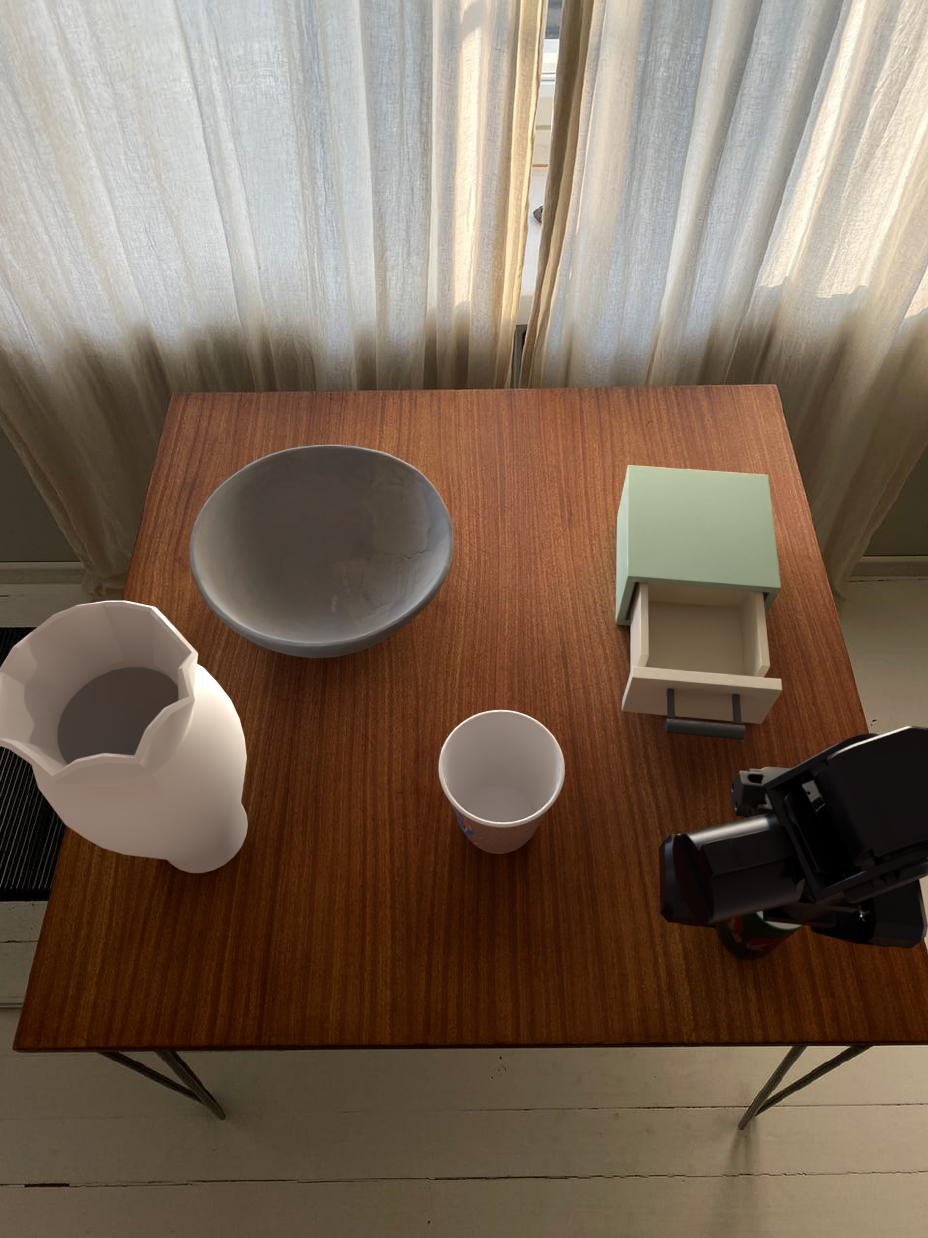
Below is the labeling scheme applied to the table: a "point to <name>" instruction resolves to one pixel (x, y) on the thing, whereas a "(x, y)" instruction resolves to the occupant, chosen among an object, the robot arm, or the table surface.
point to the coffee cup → (501, 777)
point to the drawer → (699, 659)
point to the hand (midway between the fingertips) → (755, 919)
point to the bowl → (321, 549)
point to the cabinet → (695, 533)
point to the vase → (128, 734)
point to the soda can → (753, 935)
